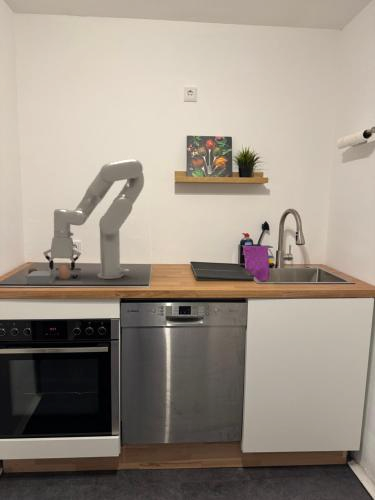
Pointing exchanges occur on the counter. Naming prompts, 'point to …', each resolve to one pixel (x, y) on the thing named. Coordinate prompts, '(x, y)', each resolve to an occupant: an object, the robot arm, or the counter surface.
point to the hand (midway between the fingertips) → (62, 269)
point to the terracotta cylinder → (64, 270)
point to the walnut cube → (31, 270)
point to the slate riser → (41, 277)
